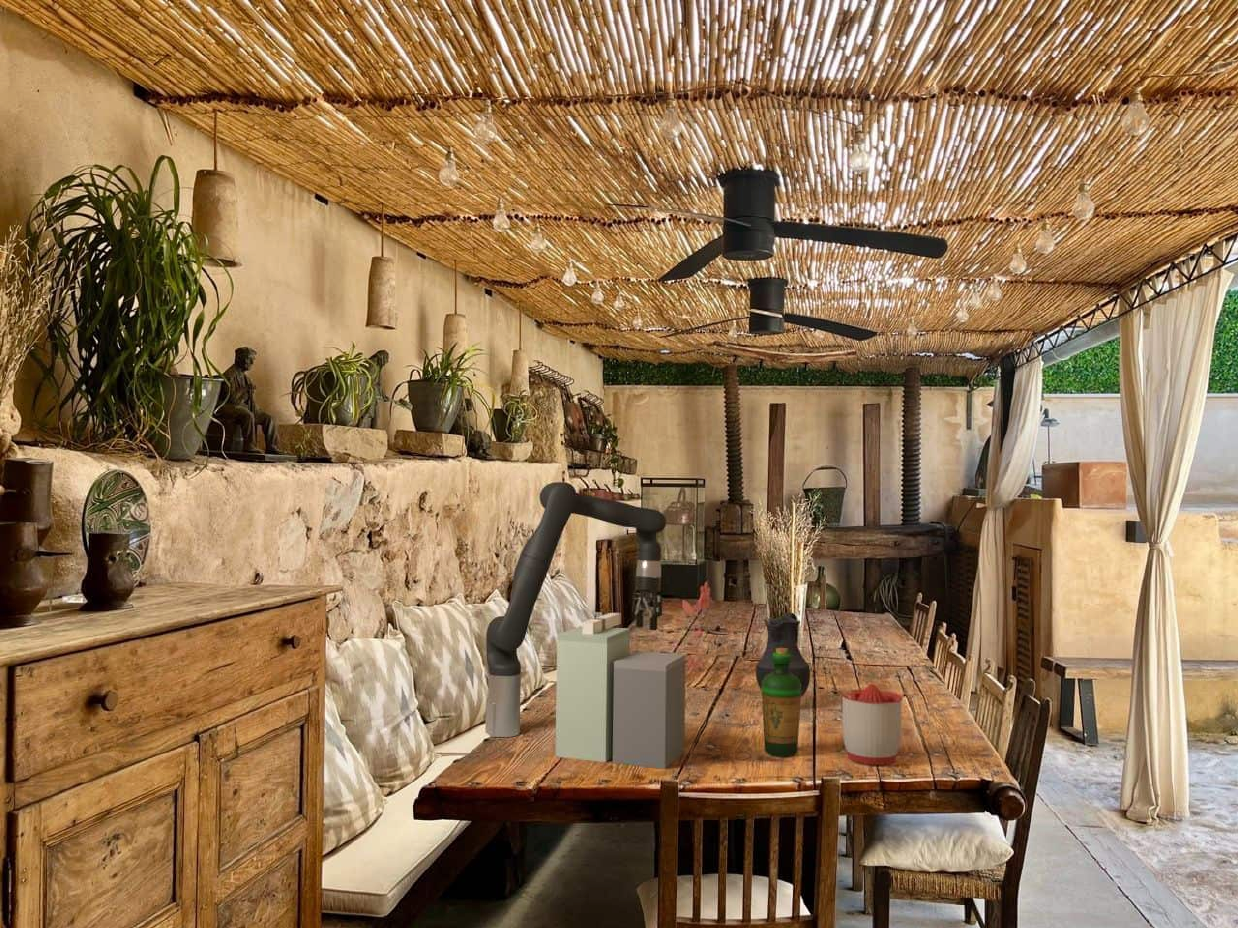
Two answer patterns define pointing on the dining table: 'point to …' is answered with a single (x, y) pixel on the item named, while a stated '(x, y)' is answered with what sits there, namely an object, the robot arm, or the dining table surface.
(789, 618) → the pitcher
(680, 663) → the block
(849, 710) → the citrus juicer
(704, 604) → the pink translucent sprig
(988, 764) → the dining table surface
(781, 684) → the bottle
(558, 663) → the sage green tall pillar
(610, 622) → the pale wooden bar
